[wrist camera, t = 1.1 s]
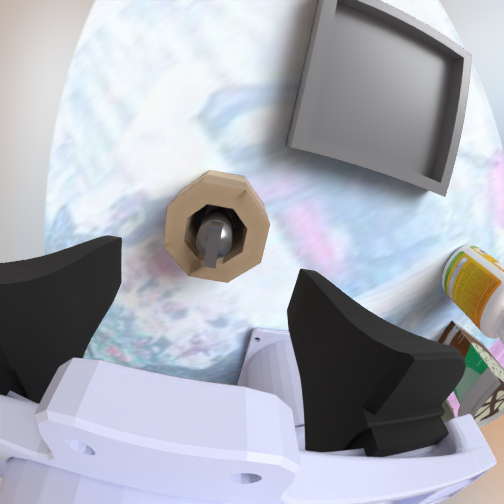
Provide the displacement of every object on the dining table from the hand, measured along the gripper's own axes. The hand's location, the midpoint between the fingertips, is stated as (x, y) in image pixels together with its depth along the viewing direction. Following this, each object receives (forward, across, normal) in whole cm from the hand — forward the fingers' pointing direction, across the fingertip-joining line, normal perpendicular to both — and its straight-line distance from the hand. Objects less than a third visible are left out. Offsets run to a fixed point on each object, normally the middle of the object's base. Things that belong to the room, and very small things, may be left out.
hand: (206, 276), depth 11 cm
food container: (+9, -28, +10) cm, 31 cm away
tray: (+8, -9, -11) cm, 17 cm away
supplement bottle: (+9, -22, 0) cm, 24 cm away
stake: (+8, 0, 0) cm, 8 cm away
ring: (+8, 0, 0) cm, 8 cm away
